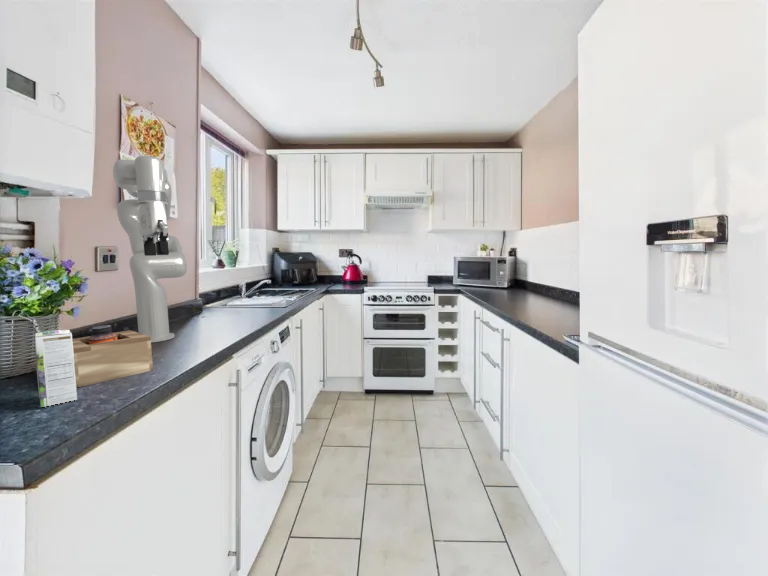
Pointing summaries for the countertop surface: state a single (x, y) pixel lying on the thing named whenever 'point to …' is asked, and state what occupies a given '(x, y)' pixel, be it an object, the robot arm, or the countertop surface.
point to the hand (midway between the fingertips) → (156, 255)
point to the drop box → (111, 358)
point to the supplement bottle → (102, 334)
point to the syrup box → (55, 367)
